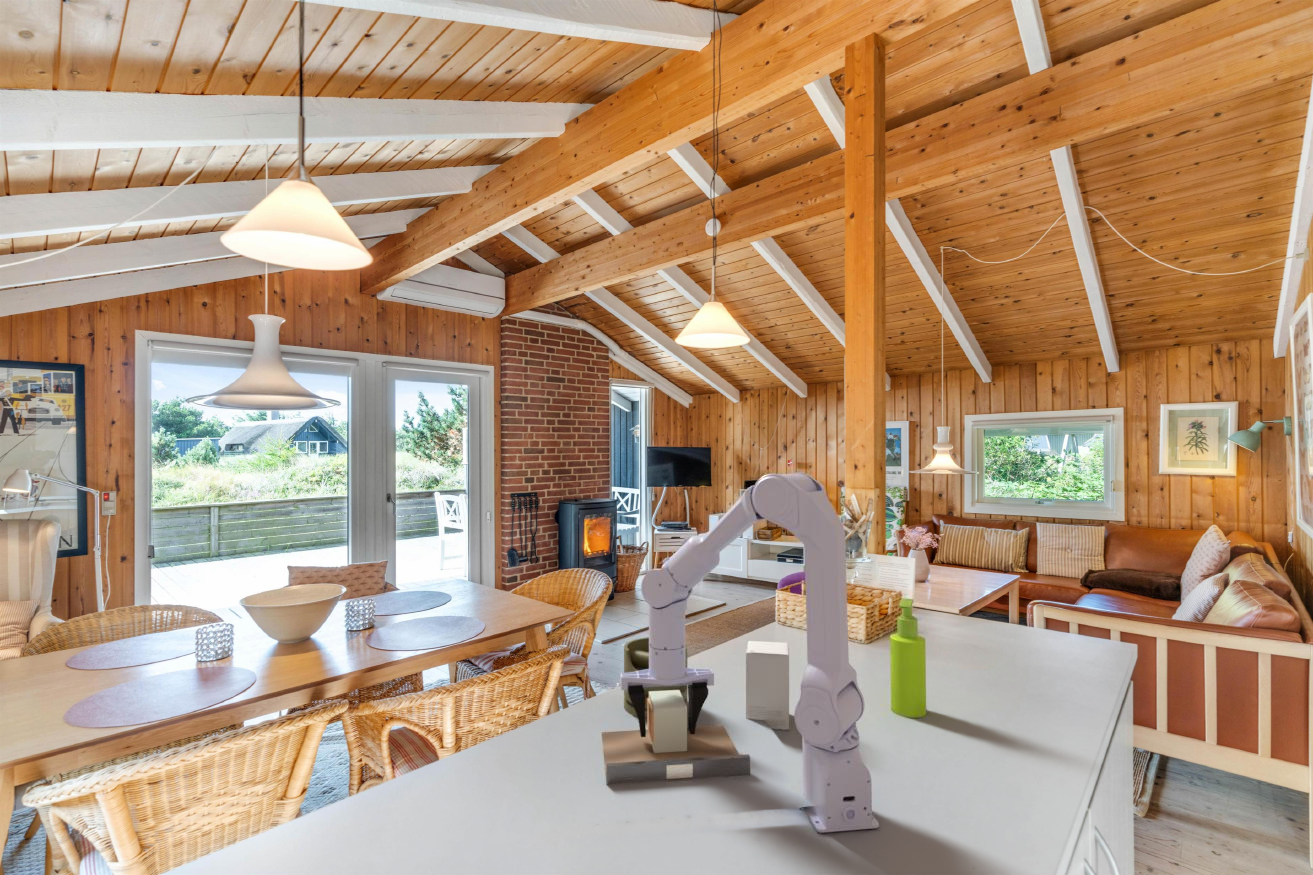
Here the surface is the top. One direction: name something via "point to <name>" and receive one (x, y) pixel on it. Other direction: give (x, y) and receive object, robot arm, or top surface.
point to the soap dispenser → (908, 665)
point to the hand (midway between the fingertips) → (667, 732)
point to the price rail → (677, 769)
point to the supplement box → (768, 683)
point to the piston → (639, 660)
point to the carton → (667, 721)
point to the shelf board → (640, 749)
